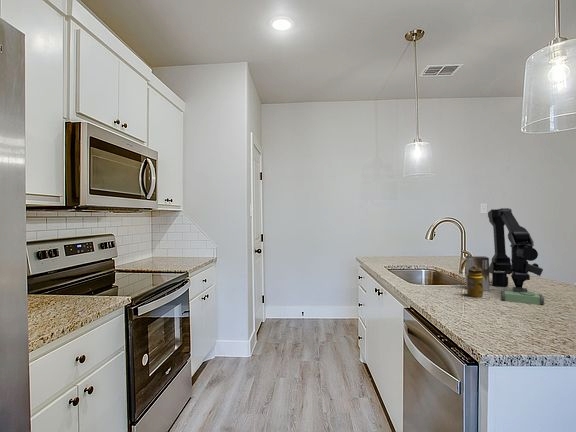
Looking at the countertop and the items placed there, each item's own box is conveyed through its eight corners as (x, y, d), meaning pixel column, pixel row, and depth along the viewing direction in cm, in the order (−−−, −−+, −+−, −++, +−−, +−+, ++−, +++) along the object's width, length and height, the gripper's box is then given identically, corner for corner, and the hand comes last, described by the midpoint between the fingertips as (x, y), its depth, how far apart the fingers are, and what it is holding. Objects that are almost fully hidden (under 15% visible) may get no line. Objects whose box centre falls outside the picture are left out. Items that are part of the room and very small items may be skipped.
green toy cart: (501, 300, 140) (501, 292, 140) (500, 294, 151) (500, 286, 151) (544, 305, 133) (543, 296, 133) (539, 298, 144) (539, 290, 144)
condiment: (487, 298, 146) (487, 271, 146) (469, 298, 144) (469, 271, 144) (475, 294, 153) (475, 268, 153) (459, 294, 152) (458, 268, 152)
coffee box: (486, 288, 164) (485, 256, 164) (489, 291, 158) (489, 257, 158) (465, 287, 167) (465, 255, 167) (468, 290, 161) (468, 257, 161)
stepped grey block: (513, 298, 145) (513, 288, 145) (512, 295, 150) (512, 285, 150) (527, 300, 142) (527, 289, 142) (525, 297, 147) (525, 287, 147)
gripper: (544, 261, 137) (544, 299, 137) (538, 256, 153) (538, 290, 153) (512, 259, 143) (512, 295, 143) (509, 255, 159) (509, 287, 159)
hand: (519, 292), depth 149 cm, fingers closed
